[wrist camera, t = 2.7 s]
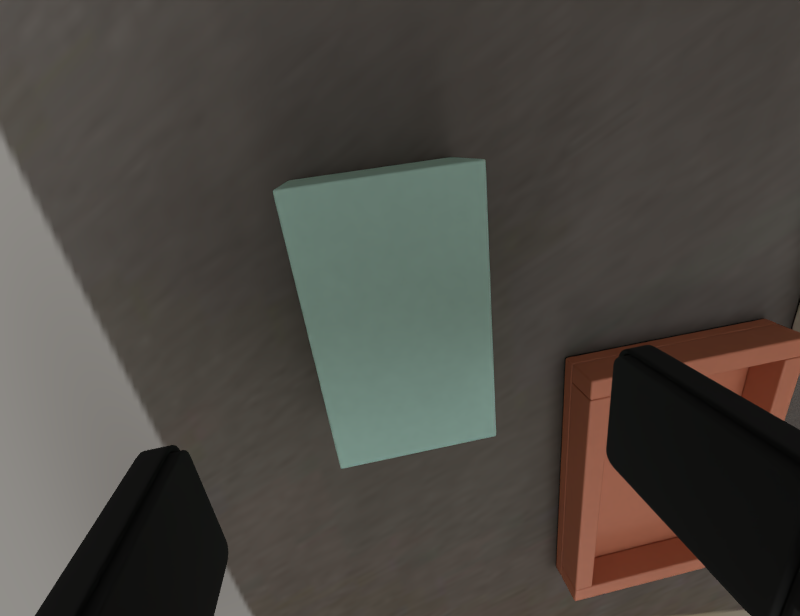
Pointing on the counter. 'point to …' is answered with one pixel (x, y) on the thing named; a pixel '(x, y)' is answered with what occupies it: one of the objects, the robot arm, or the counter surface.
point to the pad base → (396, 303)
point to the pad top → (797, 321)
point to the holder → (609, 492)
